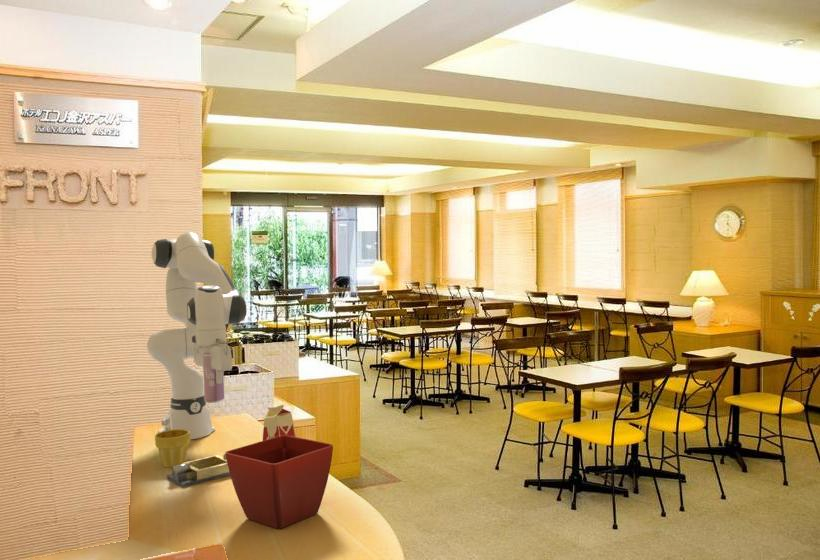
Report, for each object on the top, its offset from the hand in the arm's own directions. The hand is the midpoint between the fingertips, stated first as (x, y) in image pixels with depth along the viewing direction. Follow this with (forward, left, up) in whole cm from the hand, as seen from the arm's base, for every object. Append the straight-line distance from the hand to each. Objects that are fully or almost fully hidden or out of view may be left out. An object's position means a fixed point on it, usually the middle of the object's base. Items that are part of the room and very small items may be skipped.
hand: (214, 382), depth 214 cm
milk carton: (+23, +9, -25) cm, 35 cm away
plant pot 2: (+55, -9, -25) cm, 61 cm away
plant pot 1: (-8, -11, -25) cm, 29 cm away
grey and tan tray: (+10, -8, -25) cm, 28 cm away
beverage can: (0, 0, -6) cm, 6 cm away
